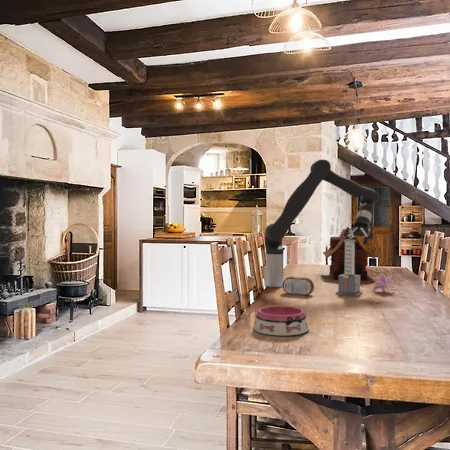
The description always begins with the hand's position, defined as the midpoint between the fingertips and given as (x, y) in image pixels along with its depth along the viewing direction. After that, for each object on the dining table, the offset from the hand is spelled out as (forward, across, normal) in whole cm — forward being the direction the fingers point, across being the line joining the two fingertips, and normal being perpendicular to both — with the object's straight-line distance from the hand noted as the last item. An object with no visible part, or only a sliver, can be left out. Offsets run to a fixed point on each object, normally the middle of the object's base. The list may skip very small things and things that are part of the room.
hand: (355, 244), depth 229 cm
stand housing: (+23, 0, +10) cm, 25 cm away
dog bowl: (+80, +3, -46) cm, 93 cm away
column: (+22, 0, +9) cm, 24 cm away
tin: (+35, -20, -1) cm, 40 cm away
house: (-18, -20, +52) cm, 59 cm away
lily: (+13, +13, +20) cm, 27 cm away
